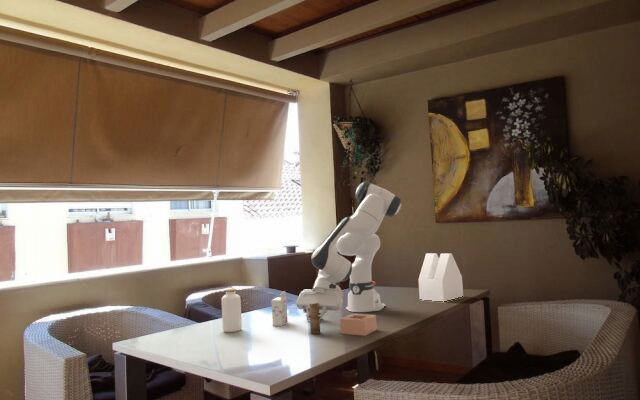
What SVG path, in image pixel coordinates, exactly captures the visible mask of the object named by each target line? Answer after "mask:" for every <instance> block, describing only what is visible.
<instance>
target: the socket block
mask: <svg viewBox="0 0 640 400" xmlns="http://www.w3.org/2000/svg"><path fill="white" fill-rule="evenodd" d="M339 321H340V322H339V323H340V334H342V335H353V336H364V337H365V336H367V335H368V336H369V334H371V333H373V332H375V331H377V329H378V326H377V315H376V314H364V313H362V314H361V313H351V314H349V315H346V316H343V317H341V318H340V319H339Z"/></svg>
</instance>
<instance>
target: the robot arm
mask: <svg viewBox="0 0 640 400" xmlns="http://www.w3.org/2000/svg"><path fill="white" fill-rule="evenodd" d="M355 190H356V191H355V200H356V201H357V202H358V203H360V204H359V205H358V207H357V208H356V210H355V212H354V213H353V214H352V215H350V216H346V217H344V218H343V219H341V220H340V221H339V222H338V223H337V225H336V226H334V228H333V229H332V230H331V231H330V233H329V234H328V235H327V237H326V238H324V240H323V241H322V243H321V244H320V245H319V246H317V248H316V249H315V250H314V251H313V252H312V254H311V258H310V259H311V263H312V265H313V267H314V268H316V269H318V272H317V277H316V279H315V281H314V284H313V286H312V289H303V290H302V291H301V290H300V293H299V295H298V297H297V299H296V301H295V305H296V307H297V309H299V310H303V309H306V310H307V313H305V314H306V316H305V317H306V319H307V318H310V312H309V311H310V309H309V303H319V310H322V311H320V312H319V313H318V317H319V318H322V319H323V317H324V315H325V314H326V313H327V312H328V311H340V310H341V309H342V307H343V301H344V300H343V297H344V293H343V290H342V289H341V287H340V285H338V284H339V283H342V282H345V281H347V280H349V285H348V287H349V290H350V291H349V292H348V293H347V306H346V307H345V310H347V311H349V312H350V313H351V312H353V313H369V312H377V311H378V312H379V311H381V310H382V309H383V308H384V306H385V307H386V303H382V302H381V296H380V293H378V292H377V291H376V289H375V285H376V281H373V280H372V279H373V278H372V277H373V276H372V264H373V260H374V257H375V255H376V253H377V252H378V251H379V249H380V248H381V239H380V237H379V235H377V234H376V233H377V231H378V230H379V228H380V226H381V225H382V221H383V220H384V218H385V217H386V216H387V217H390V218H391V217H395V215H397V214H398V213H399V212H400V210H401V208H402V198H400V197H399V196H398V195H397V194H394V193H393V192H392V191H389V190H388V189H386V188H383V187H380V186H379V185H376V184H373V183H372V182H369V181H362V182H361V183H360V184H359V185H358V186H357V187H356V189H355ZM335 245H336V250H337V251H338V253H337V252H336V251H334V250H333V247H334V246H335ZM344 256H349V257H352V256H355V258H354V259H355V260H354V261H353V262H351V261H350V260H348V259H347V258H346V257H344ZM336 283H337V284H336Z"/></svg>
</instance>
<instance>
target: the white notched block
mask: <svg viewBox="0 0 640 400" xmlns="http://www.w3.org/2000/svg"><path fill="white" fill-rule="evenodd" d="M418 295H419V300H420V299H422V300H421V301H424V300H432V301H431V302H434V301H443V302H442V303H445V302H444V301H447V300H451V299H455V298H458V297H462V296H463V297H464V286H463V275H462V274H461V272H460V269H459V267H458V264H457V262H456V260H455V258H454V255H453V253H450V252H449V253H445V252H444V253H440V255H438V253H437V252H436V253H435V252H433V253H432V252H430V253H425V256H424V260H423V264H422V266H421V270H420V273H419V277H418ZM463 297H462V298H463ZM455 300H456V299H455ZM451 301H452V300H451ZM447 302H448V301H447Z"/></svg>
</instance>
